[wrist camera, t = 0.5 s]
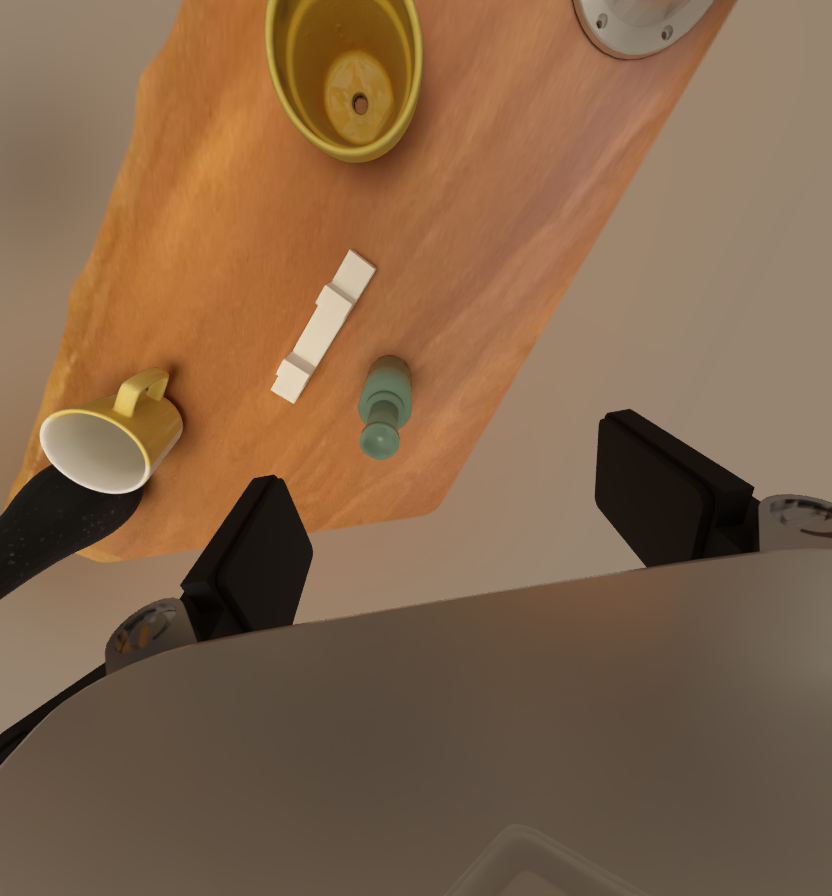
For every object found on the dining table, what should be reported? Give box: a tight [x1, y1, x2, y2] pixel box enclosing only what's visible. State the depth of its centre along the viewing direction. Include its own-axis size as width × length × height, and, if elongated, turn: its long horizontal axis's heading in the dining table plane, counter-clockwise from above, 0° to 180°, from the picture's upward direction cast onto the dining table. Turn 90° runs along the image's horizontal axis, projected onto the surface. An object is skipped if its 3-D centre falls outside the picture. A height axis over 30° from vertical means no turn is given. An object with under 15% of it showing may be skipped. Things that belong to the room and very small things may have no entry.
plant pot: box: [265, 0, 423, 163], centre depth 27 cm, size 10×10×10 cm
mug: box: [40, 367, 183, 494], centre depth 41 cm, size 14×10×10 cm
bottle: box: [0, 464, 145, 599], centre depth 37 cm, size 11×11×30 cm
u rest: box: [271, 250, 377, 404], centre depth 39 cm, size 18×3×5 cm, turn 144°
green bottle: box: [358, 355, 411, 460], centre depth 36 cm, size 5×5×17 cm
